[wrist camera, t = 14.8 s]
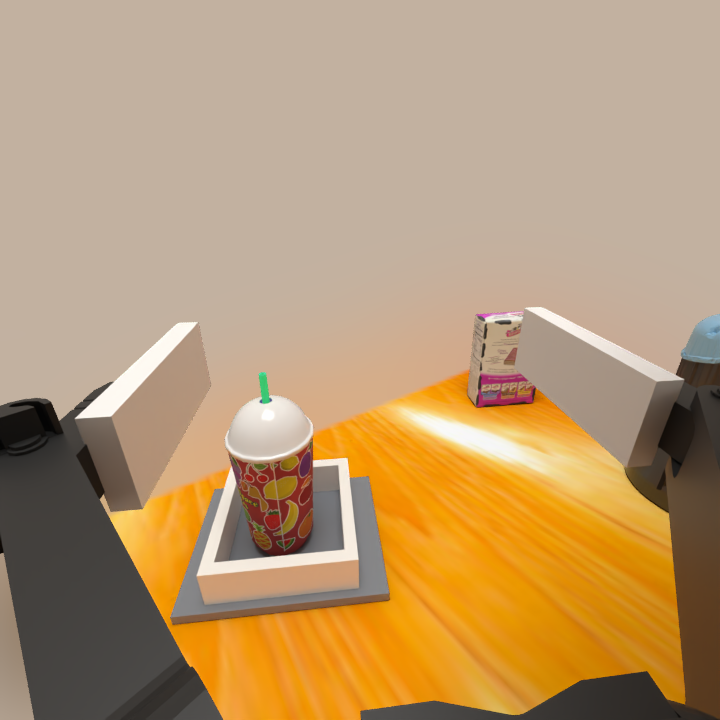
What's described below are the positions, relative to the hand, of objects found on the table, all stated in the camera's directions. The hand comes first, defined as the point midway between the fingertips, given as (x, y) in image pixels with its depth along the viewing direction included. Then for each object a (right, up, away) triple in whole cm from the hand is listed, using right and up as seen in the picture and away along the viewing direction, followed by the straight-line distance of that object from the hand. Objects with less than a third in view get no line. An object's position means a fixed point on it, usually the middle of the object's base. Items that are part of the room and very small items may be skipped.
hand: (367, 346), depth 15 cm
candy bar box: (+26, -8, +55) cm, 61 cm away
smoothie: (-9, -20, +26) cm, 34 cm away
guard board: (-8, -21, +27) cm, 35 cm away
